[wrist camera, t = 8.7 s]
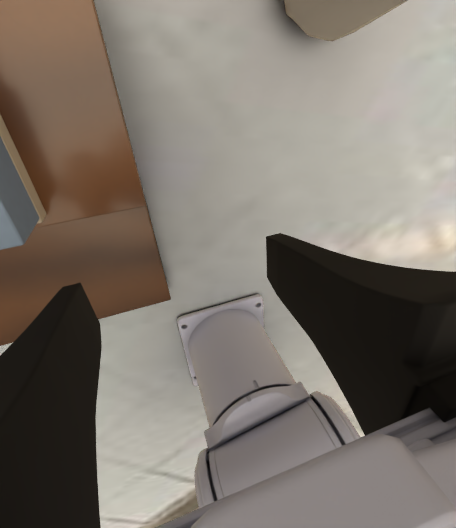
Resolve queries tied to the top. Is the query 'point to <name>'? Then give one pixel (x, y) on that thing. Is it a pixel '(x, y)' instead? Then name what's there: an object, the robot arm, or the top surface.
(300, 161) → the top surface
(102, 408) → the top surface
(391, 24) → the top surface
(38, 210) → the blue stepped block
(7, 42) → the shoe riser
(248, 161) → the top surface
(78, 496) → the robot arm
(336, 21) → the salt shaker
